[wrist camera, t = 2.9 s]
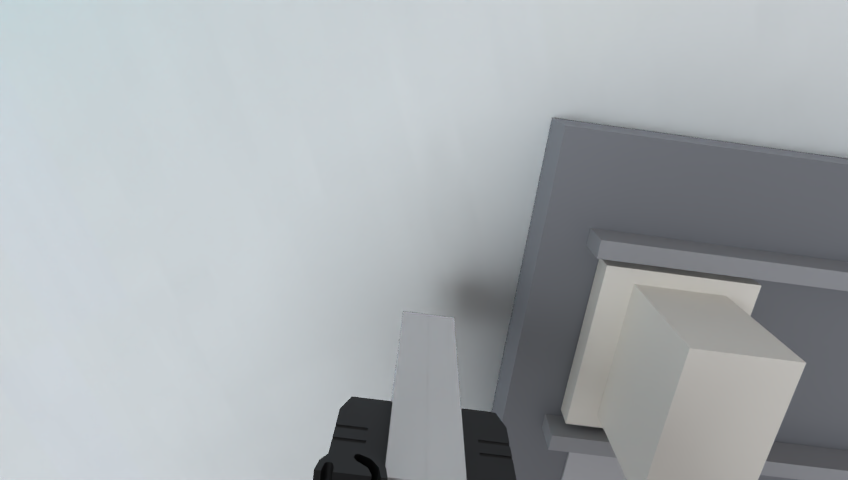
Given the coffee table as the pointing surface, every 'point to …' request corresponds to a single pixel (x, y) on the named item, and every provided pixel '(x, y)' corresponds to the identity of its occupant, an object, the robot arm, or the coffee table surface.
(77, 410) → the coffee table surface
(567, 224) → the switch panel
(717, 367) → the switch tab
